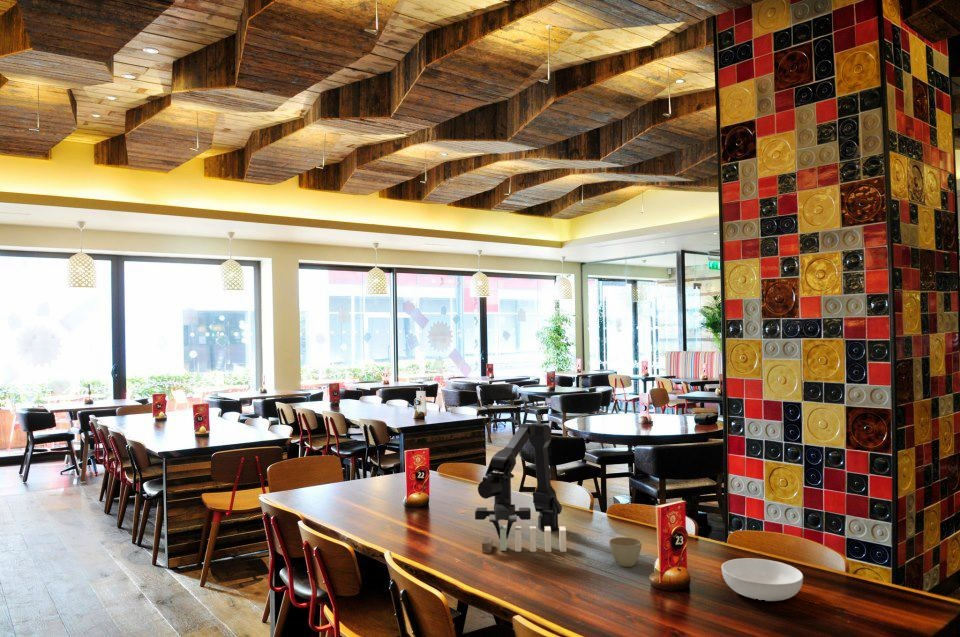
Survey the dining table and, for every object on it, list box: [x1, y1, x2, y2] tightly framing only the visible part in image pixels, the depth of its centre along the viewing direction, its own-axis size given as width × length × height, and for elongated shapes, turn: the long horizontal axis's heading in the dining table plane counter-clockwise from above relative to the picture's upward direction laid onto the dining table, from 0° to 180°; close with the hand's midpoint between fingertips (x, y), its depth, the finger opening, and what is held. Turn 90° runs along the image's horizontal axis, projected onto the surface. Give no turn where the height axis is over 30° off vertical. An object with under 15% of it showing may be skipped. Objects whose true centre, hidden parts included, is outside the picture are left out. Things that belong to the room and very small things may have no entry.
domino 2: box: [529, 525, 537, 552], centre depth 238 cm, size 2×5×7 cm, turn 176°
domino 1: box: [514, 525, 522, 552], centre depth 239 cm, size 2×5×7 cm, turn 176°
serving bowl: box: [720, 557, 804, 602], centre depth 194 cm, size 21×21×7 cm
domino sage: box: [499, 524, 508, 552], centre depth 239 cm, size 2×5×7 cm, turn 176°
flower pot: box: [608, 536, 643, 568], centre depth 221 cm, size 10×10×7 cm
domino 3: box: [544, 526, 552, 553], centre depth 238 cm, size 2×5×7 cm, turn 176°
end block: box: [481, 536, 493, 553], centre depth 239 cm, size 3×8×3 cm, turn 176°
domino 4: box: [558, 525, 567, 553], centre depth 238 cm, size 2×5×7 cm, turn 176°
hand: (503, 539), depth 239 cm, fingers closed on domino sage, 2 cm apart
